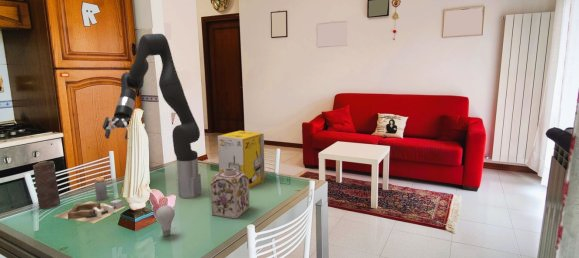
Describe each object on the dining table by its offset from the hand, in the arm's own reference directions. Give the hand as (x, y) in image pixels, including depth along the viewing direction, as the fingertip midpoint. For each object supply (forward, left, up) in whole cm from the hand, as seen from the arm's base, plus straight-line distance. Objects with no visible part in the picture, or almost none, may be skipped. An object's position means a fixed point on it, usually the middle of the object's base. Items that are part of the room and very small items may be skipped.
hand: (116, 138), depth 156 cm
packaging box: (-48, -30, -26) cm, 63 cm away
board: (-6, +23, -26) cm, 35 cm away
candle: (+16, +23, -26) cm, 38 cm away
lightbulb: (-48, +29, -26) cm, 62 cm away
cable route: (-13, +22, -25) cm, 36 cm away
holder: (-5, +25, -25) cm, 36 cm away
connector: (+1, +11, -26) cm, 28 cm away
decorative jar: (-59, +4, -26) cm, 65 cm away
